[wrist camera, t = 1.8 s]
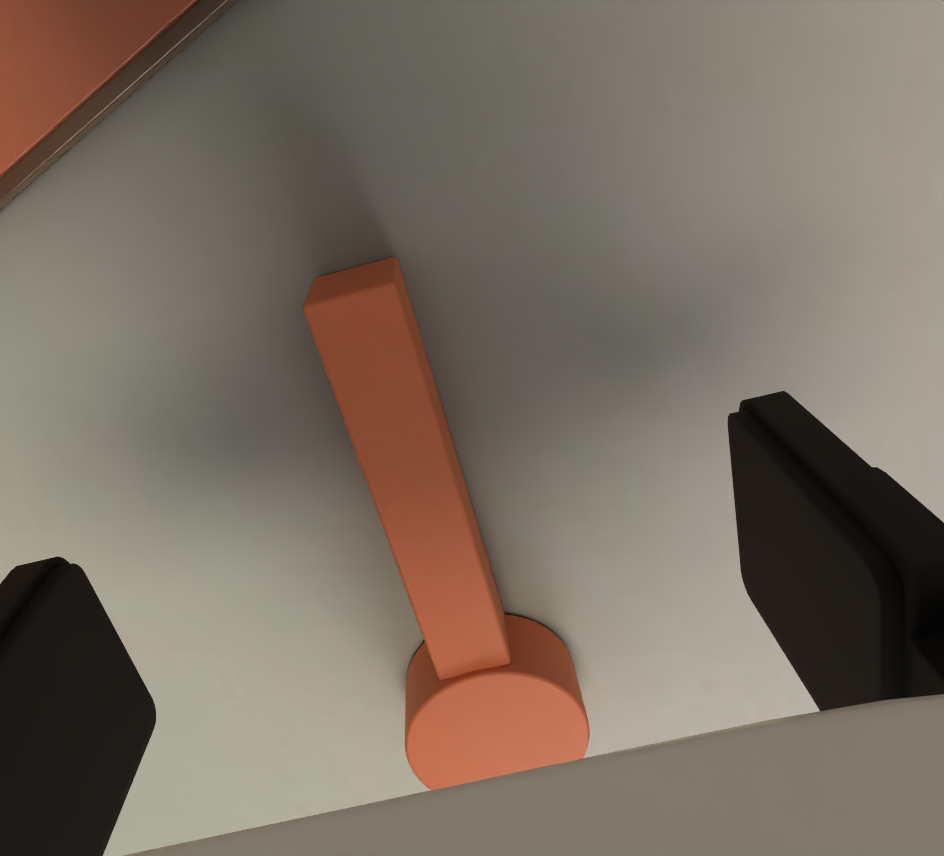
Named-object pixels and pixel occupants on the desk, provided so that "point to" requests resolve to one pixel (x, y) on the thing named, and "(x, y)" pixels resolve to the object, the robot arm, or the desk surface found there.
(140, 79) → the board
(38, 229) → the desk surface
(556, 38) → the desk surface
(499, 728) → the spoon terracotta
